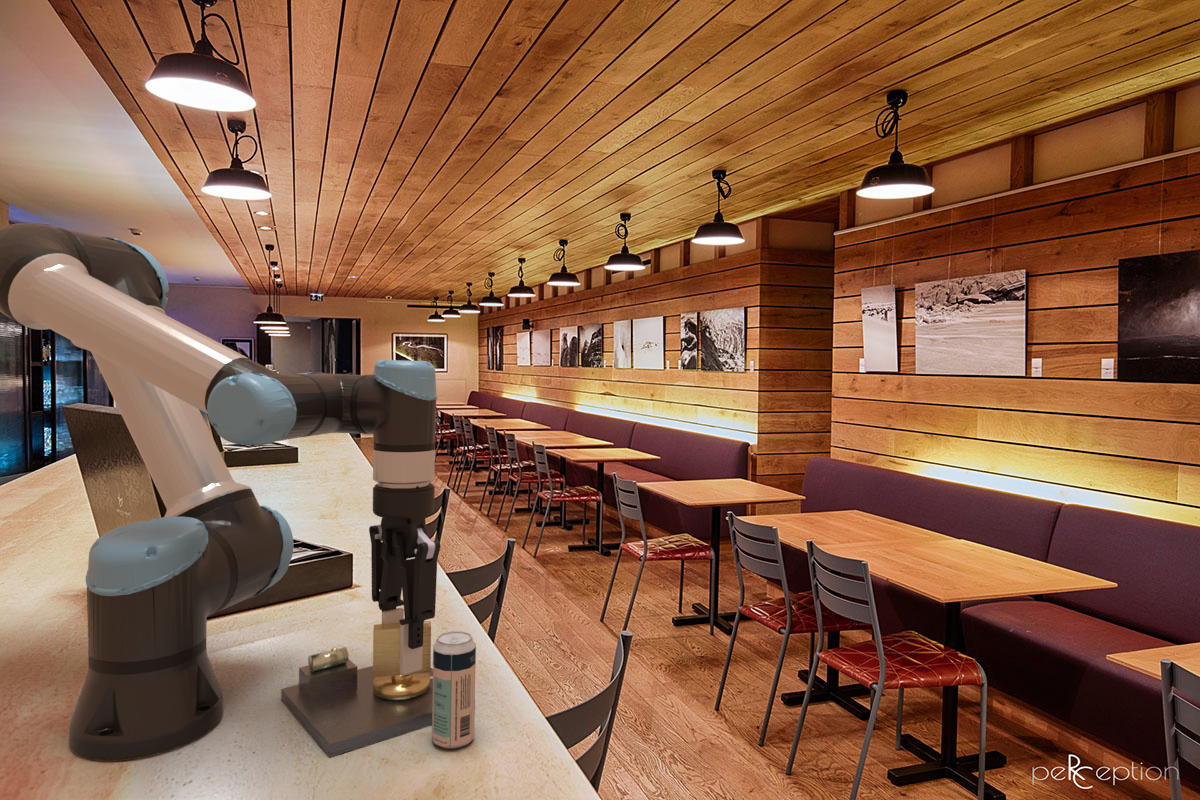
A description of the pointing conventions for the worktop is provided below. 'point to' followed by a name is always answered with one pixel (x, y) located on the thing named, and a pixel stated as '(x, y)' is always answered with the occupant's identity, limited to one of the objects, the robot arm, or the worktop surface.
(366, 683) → the grey base plate
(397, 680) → the gold disc with bar
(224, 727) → the worktop surface
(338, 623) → the worktop surface
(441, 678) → the beer can
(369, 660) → the worktop surface
